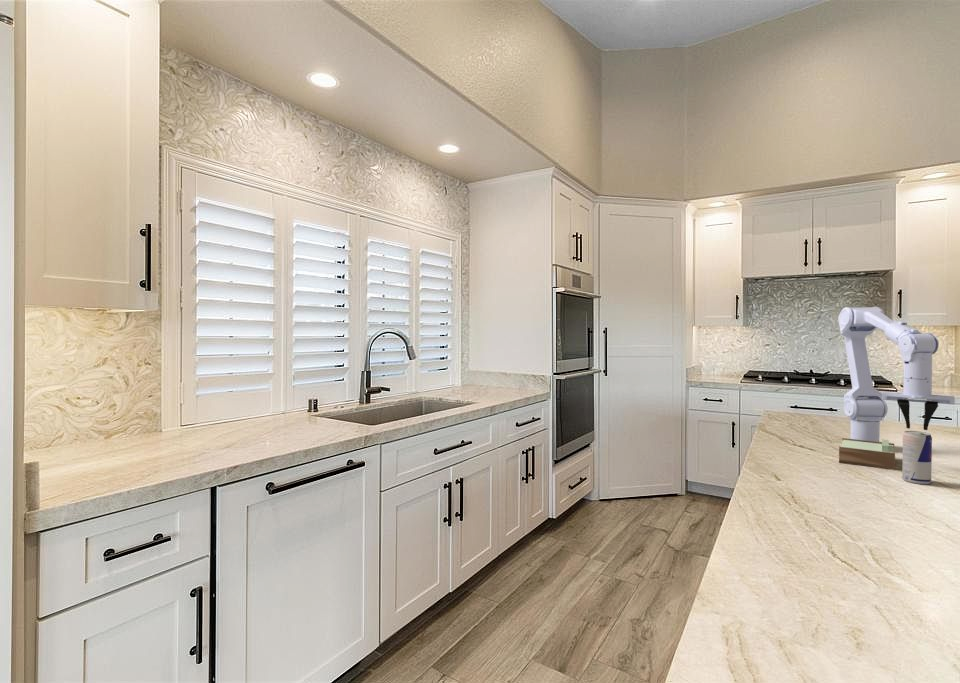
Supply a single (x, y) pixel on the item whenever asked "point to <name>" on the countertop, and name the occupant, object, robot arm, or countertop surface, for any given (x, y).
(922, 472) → the energy drink
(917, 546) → the countertop surface
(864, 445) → the lid
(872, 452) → the box
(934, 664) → the countertop surface
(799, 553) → the countertop surface
